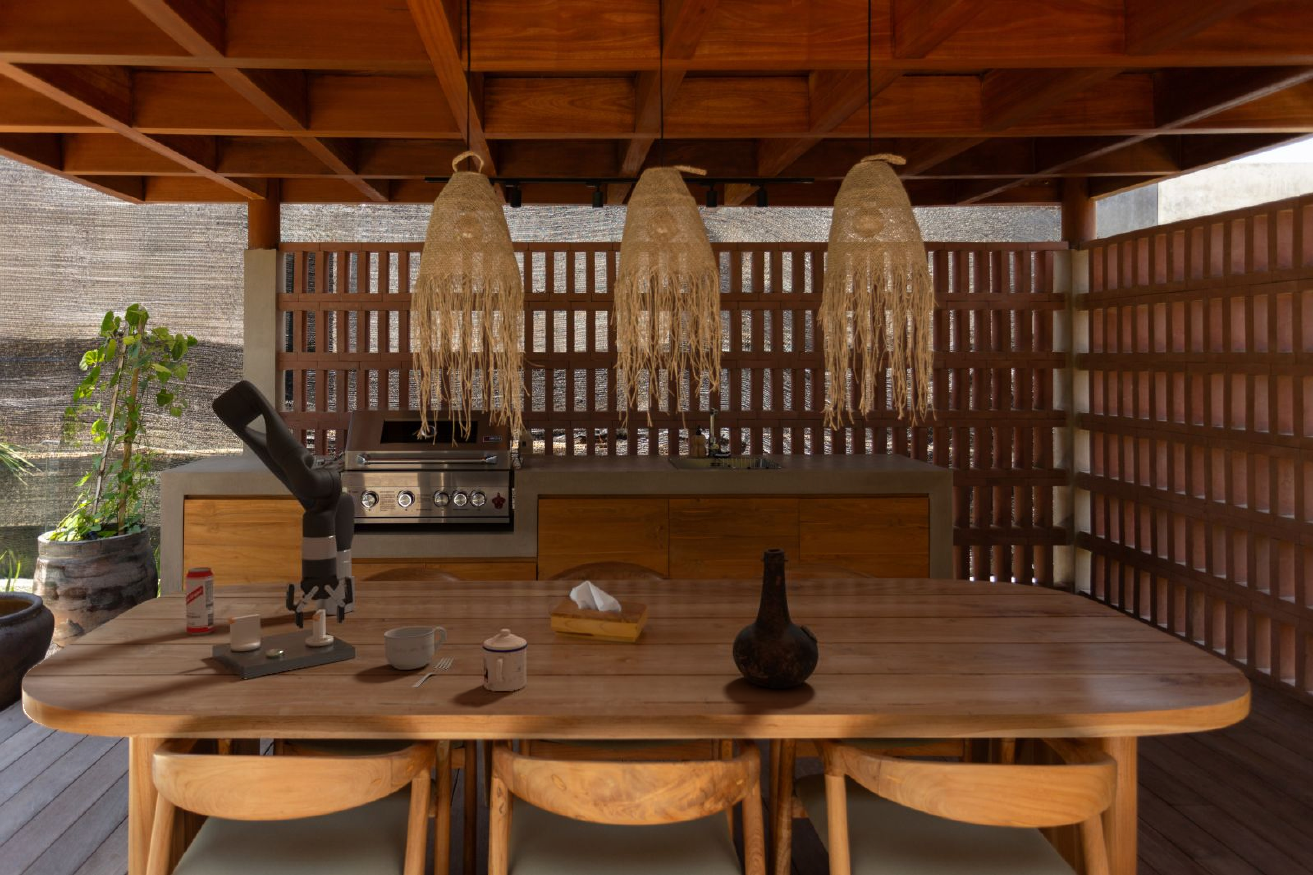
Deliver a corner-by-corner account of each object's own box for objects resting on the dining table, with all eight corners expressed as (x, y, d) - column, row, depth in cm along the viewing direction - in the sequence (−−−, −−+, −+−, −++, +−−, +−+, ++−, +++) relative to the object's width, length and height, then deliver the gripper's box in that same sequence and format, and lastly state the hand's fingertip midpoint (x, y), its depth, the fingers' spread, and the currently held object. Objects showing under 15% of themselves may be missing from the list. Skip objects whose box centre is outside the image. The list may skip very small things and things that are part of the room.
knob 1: (254, 642, 205) (254, 610, 205) (263, 647, 201) (263, 615, 201) (224, 647, 201) (223, 615, 201) (232, 653, 196) (232, 620, 196)
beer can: (202, 636, 220) (201, 572, 219) (180, 635, 221) (179, 571, 220) (220, 630, 226) (219, 567, 225) (198, 628, 227) (197, 566, 226)
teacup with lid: (487, 678, 189) (487, 624, 188) (530, 679, 189) (530, 624, 188) (475, 697, 177) (474, 639, 176) (520, 698, 177) (520, 640, 176)
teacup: (389, 676, 190) (389, 639, 190) (379, 662, 199) (379, 627, 199) (454, 667, 196) (454, 631, 196) (442, 654, 206) (441, 620, 206)
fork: (389, 701, 176) (389, 692, 175) (441, 665, 199) (441, 657, 199) (404, 702, 175) (404, 693, 175) (455, 665, 199) (455, 658, 199)
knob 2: (309, 639, 208) (308, 608, 208) (335, 638, 209) (335, 607, 208) (301, 647, 201) (301, 615, 201) (329, 646, 202) (329, 614, 202)
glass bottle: (818, 698, 177) (820, 559, 176) (728, 693, 180) (730, 555, 179) (817, 671, 195) (819, 544, 194) (735, 667, 198) (736, 541, 197)
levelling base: (317, 638, 219) (317, 621, 219) (355, 657, 203) (355, 640, 203) (212, 656, 203) (212, 638, 203) (244, 679, 187) (244, 660, 187)
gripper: (347, 550, 211) (348, 617, 212) (283, 555, 204) (284, 625, 205) (355, 554, 205) (355, 624, 206) (289, 560, 197) (290, 633, 198)
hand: (320, 625), depth 205 cm, fingers open, 8 cm apart
